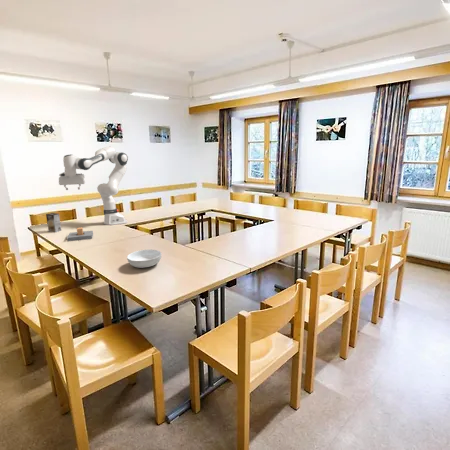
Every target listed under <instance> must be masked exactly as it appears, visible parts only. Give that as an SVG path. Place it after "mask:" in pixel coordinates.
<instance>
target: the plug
mask: <svg viewBox="0 0 450 450" xmlns="http://www.w3.org/2000/svg"><path fill="white" fill-rule="evenodd" d="M83 231H84V227H82V226H81V227H77V228H76V232H77V235H84V234H83Z"/></svg>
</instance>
